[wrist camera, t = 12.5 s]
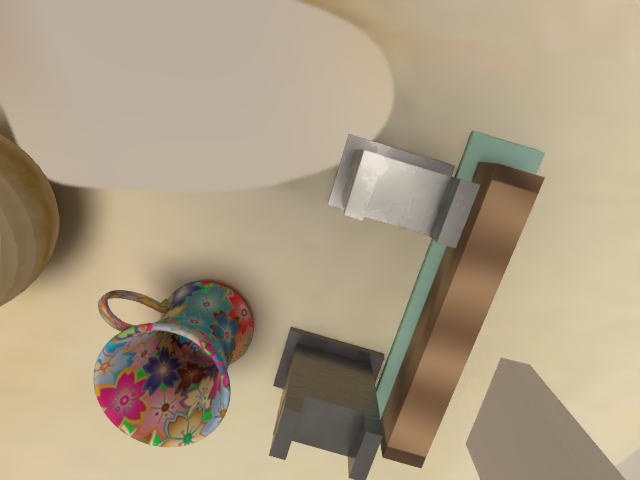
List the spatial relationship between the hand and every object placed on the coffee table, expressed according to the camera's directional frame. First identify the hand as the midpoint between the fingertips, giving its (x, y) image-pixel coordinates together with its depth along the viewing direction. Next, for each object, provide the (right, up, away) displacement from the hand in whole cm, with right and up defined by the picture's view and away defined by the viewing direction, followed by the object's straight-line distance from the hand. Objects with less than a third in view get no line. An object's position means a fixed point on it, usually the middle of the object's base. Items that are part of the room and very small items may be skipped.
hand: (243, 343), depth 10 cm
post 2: (+8, +7, +23) cm, 25 cm away
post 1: (+3, -9, +27) cm, 29 cm away
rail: (+13, -4, +25) cm, 28 cm away
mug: (-9, -4, +26) cm, 28 cm away
